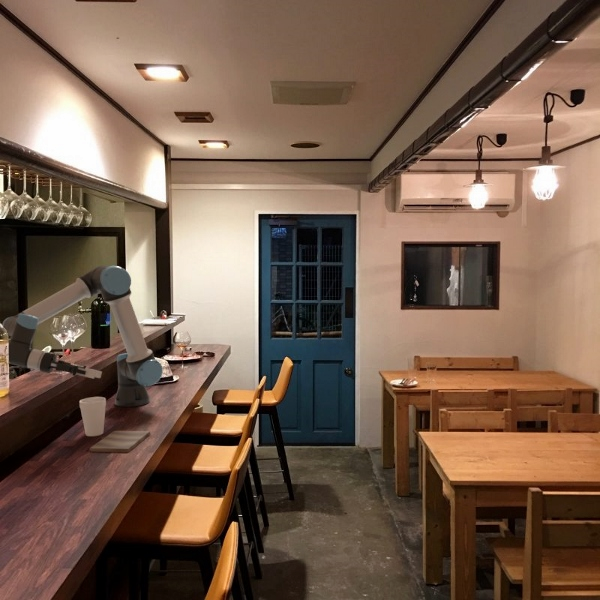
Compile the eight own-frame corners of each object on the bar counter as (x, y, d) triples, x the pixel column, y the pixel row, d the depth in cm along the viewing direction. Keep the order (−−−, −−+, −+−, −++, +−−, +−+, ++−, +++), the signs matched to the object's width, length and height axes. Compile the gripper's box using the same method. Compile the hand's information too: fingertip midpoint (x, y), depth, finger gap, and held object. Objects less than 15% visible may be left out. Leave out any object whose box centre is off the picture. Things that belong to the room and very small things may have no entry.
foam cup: (80, 438, 225) (78, 404, 224) (82, 431, 234) (80, 398, 233) (107, 435, 228) (105, 401, 227) (108, 428, 237) (106, 396, 236)
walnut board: (114, 433, 230) (114, 430, 230) (150, 434, 228) (150, 431, 228) (89, 451, 210) (89, 448, 210) (128, 452, 209) (128, 448, 208)
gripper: (47, 370, 244) (100, 383, 246) (30, 370, 219) (89, 385, 222) (53, 352, 245) (106, 365, 247) (36, 350, 220) (95, 365, 223)
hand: (98, 375), depth 235 cm, fingers open, 13 cm apart
